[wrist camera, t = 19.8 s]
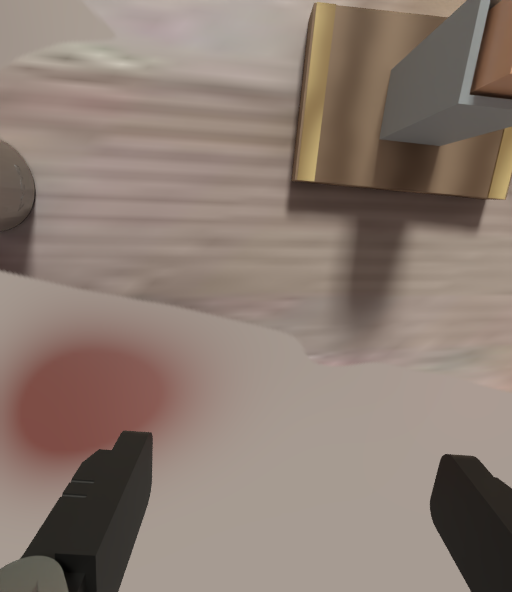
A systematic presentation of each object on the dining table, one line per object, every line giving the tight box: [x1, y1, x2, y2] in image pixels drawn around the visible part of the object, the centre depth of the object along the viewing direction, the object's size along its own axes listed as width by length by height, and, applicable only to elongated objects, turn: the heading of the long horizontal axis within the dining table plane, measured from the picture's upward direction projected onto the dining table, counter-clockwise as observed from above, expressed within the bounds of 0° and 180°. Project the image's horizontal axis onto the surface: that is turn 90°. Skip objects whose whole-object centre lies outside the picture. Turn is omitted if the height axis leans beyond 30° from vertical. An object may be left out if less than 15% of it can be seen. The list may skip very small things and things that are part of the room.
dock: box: [291, 2, 512, 200], centre depth 34 cm, size 20×14×3 cm
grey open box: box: [379, 0, 512, 146], centre depth 26 cm, size 6×6×13 cm
